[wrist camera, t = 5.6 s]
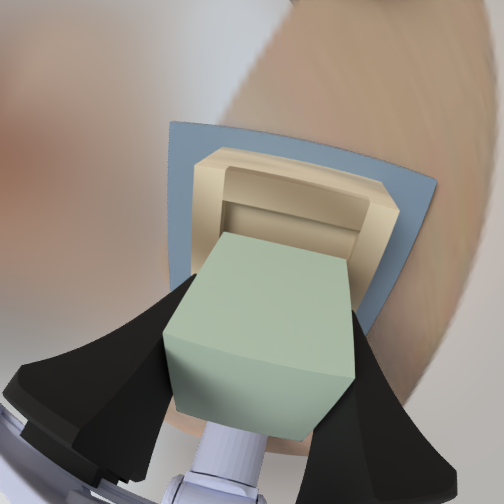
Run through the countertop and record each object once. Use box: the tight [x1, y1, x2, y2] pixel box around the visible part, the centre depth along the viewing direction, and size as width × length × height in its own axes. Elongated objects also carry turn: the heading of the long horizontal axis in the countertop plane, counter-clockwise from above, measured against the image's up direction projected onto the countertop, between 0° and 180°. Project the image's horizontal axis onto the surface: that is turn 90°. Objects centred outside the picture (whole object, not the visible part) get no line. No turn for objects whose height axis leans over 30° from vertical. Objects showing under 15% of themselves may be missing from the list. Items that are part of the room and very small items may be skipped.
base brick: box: [191, 147, 400, 313], centre depth 14 cm, size 8×8×4 cm
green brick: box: [163, 232, 355, 441], centre depth 9 cm, size 4×4×5 cm
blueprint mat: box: [168, 121, 437, 336], centre depth 18 cm, size 18×14×1 cm
